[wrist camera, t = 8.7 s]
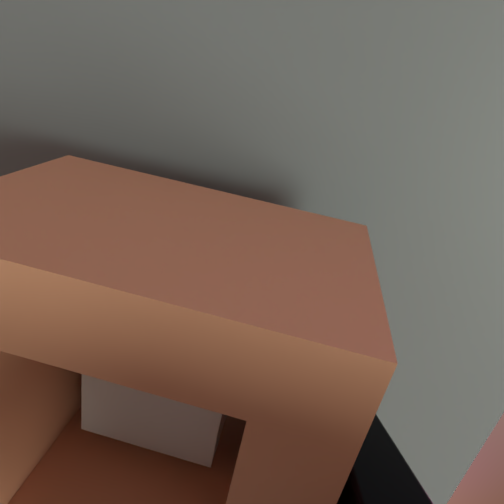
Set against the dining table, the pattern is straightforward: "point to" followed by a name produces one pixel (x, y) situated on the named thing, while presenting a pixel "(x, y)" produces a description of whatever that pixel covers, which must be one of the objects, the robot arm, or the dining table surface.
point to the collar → (182, 337)
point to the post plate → (299, 170)
